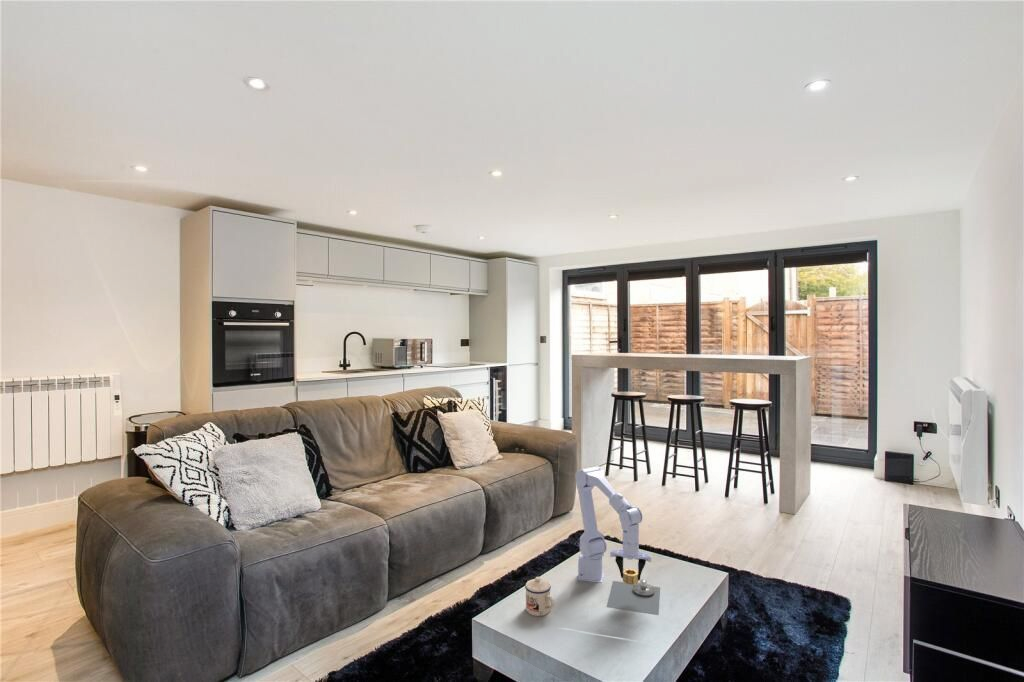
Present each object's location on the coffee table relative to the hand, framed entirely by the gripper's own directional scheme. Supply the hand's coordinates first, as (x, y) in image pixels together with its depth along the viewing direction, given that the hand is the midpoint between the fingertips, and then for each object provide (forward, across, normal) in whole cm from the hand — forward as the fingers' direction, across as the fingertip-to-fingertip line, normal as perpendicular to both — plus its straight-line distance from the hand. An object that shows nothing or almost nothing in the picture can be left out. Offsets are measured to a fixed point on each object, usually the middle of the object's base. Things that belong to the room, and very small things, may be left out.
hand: (630, 577), depth 192 cm
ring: (+1, 0, 0) cm, 1 cm away
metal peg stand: (+8, +4, +8) cm, 12 cm away
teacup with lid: (+9, -30, -16) cm, 35 cm away
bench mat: (+9, +1, +3) cm, 9 cm away
